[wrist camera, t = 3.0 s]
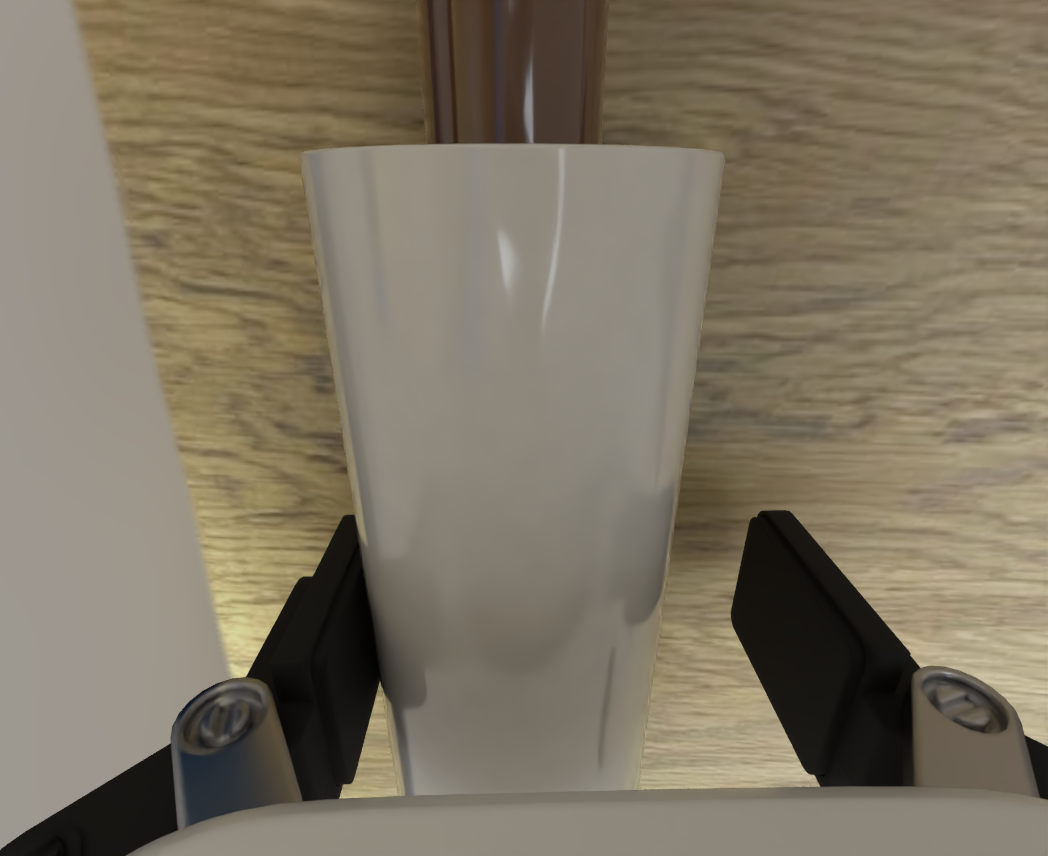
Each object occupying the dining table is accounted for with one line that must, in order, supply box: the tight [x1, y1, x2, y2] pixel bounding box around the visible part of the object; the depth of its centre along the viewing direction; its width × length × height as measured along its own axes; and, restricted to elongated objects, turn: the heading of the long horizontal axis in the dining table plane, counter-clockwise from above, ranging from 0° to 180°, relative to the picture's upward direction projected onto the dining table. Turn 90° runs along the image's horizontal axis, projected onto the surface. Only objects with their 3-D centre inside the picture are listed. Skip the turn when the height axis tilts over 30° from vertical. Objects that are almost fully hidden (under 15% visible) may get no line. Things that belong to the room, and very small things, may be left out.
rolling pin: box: [299, 0, 726, 796], centre depth 11 cm, size 28×6×6 cm, turn 0°
